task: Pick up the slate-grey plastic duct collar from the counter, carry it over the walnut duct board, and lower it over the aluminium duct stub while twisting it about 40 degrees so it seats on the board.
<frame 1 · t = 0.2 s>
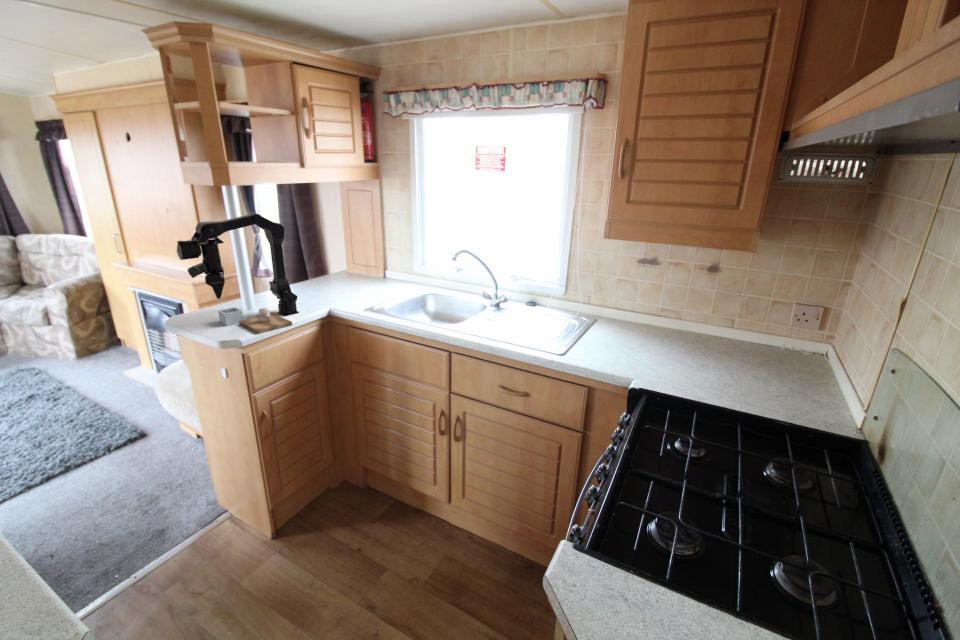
hand: (218, 295, 177), 13 cm above the counter, fingers open, 9 cm apart
duct board: (266, 324, 185), on the counter
duct collar: (231, 322, 187), on the counter
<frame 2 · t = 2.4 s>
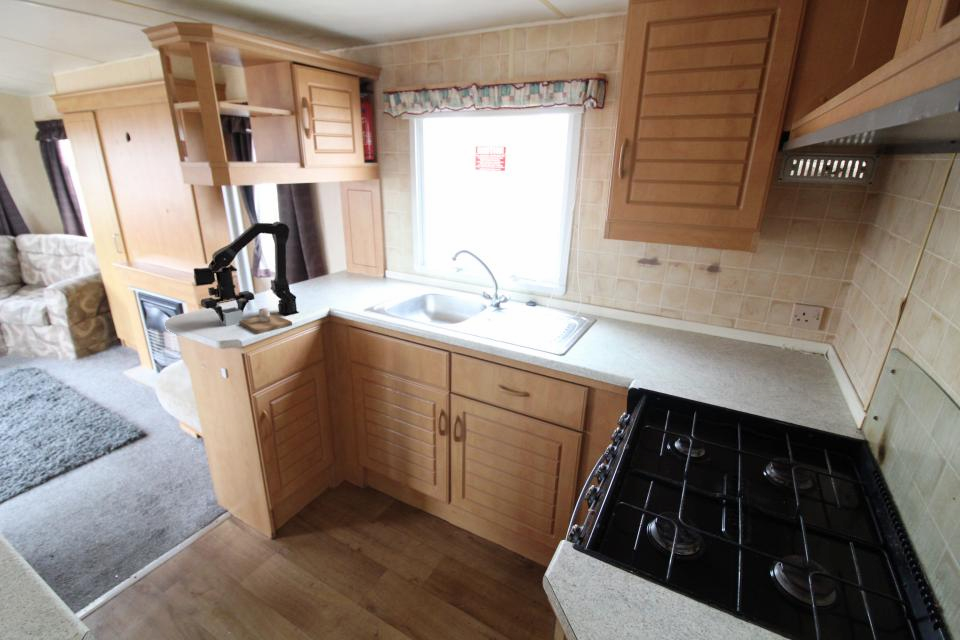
hand: (231, 319, 187), 1 cm above the counter, fingers closed on duct collar, 7 cm apart
duct collar: (231, 322, 187), on the counter, touching gripper
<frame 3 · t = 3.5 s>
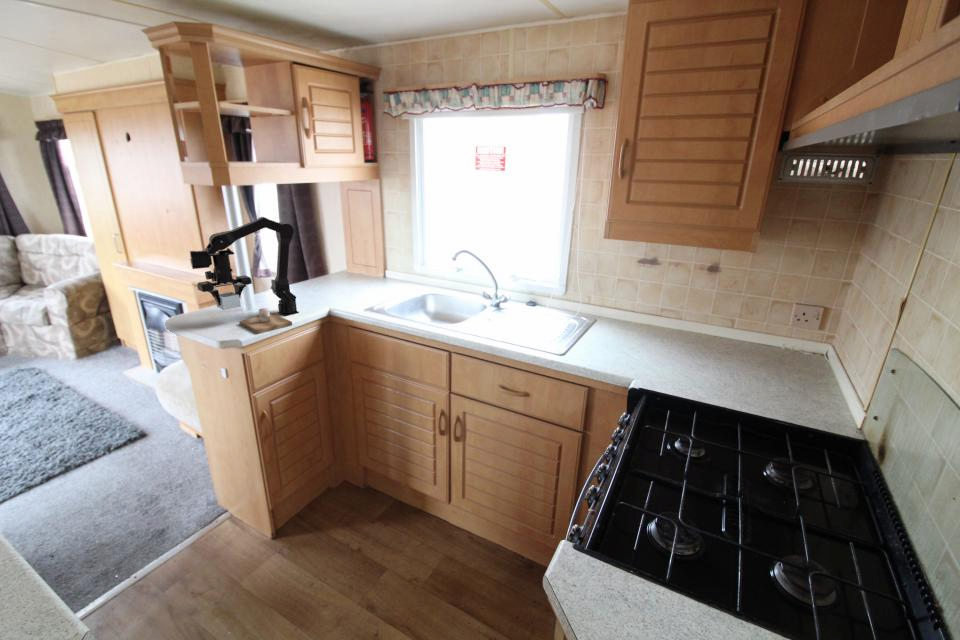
hand: (228, 303, 184), 8 cm above the counter, fingers closed on duct collar, 7 cm apart
duct collar: (229, 306, 185), point 7 cm above the counter, touching gripper
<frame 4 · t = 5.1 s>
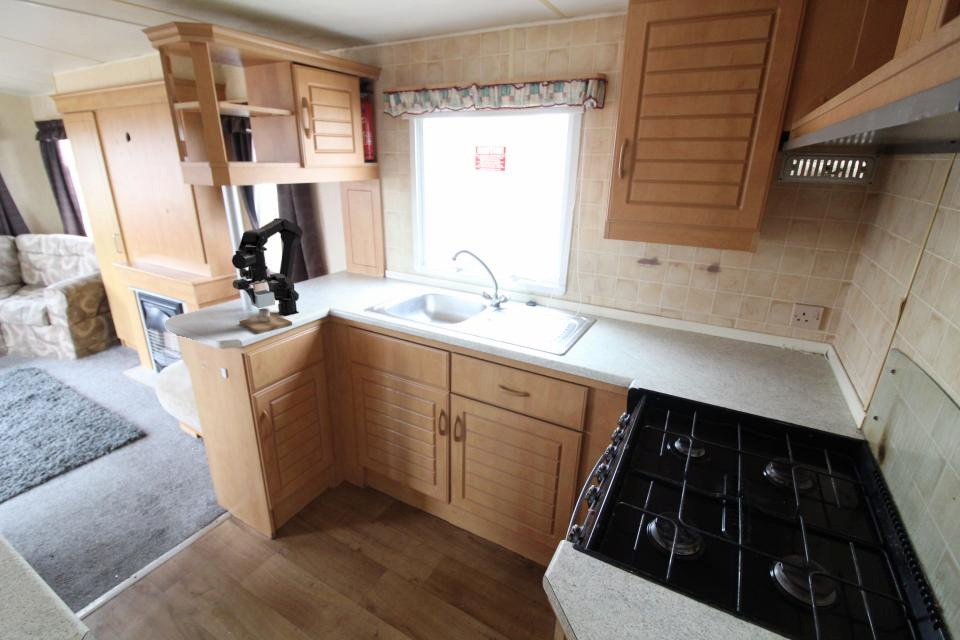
hand: (262, 301, 182), 10 cm above the counter, fingers closed on duct collar, 7 cm apart
duct collar: (263, 304, 182), point 9 cm above the counter, touching gripper
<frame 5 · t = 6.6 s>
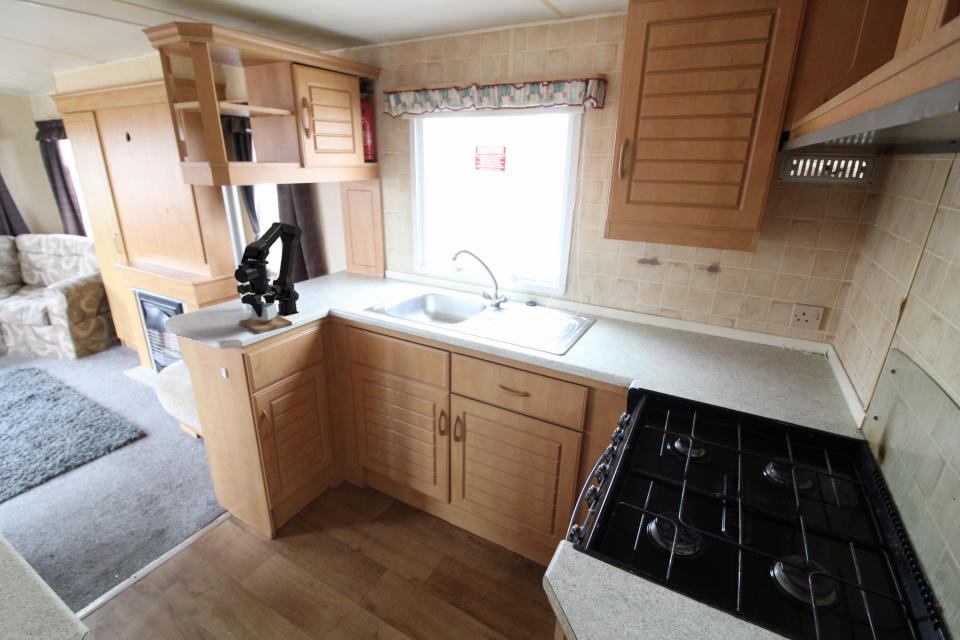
hand: (264, 314, 184), 4 cm above the counter, fingers closed on duct collar, 7 cm apart
duct collar: (265, 317, 184), point 3 cm above the counter, touching gripper
when the fingers open (3 cm above the counter, at t = 7.8 s): duct collar stays where it is, resting on duct board.
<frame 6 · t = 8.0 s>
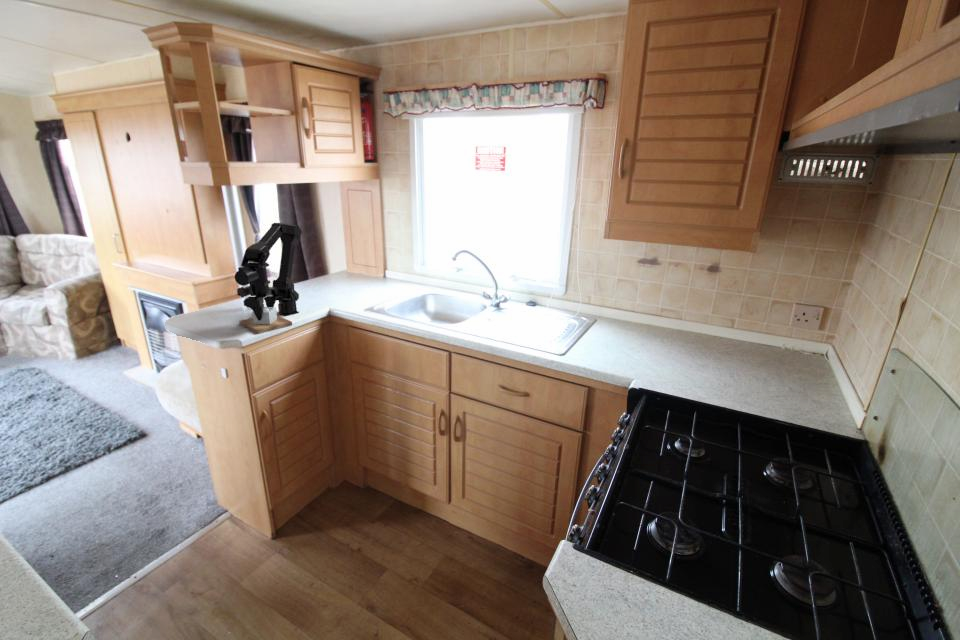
hand: (264, 316, 184), 3 cm above the counter, fingers open, 9 cm apart
duct collar: (265, 321, 185), point 1 cm above the counter, touching duct board
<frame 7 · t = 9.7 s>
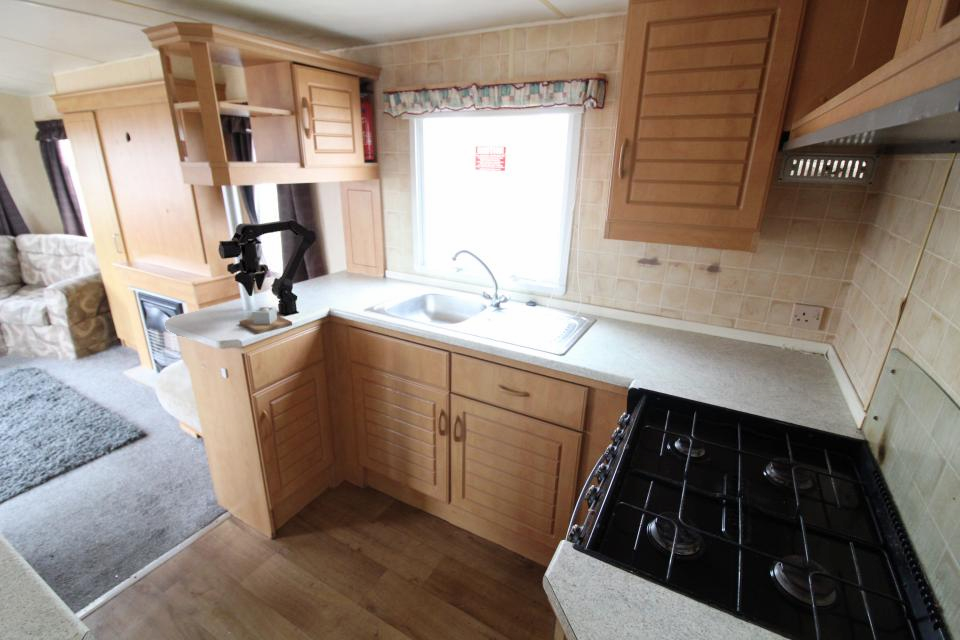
hand: (255, 292, 187), 12 cm above the counter, fingers open, 9 cm apart
nothing on the counter moved.
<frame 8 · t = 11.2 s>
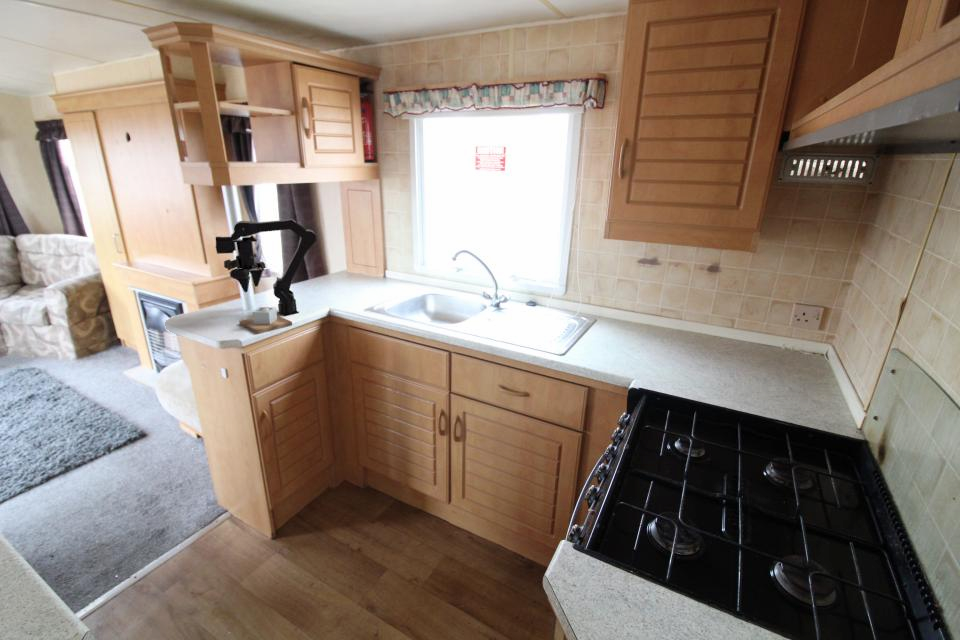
hand: (251, 289, 191), 12 cm above the counter, fingers open, 9 cm apart
nothing on the counter moved.
at the end: duct collar 0.0 cm off-centre on the duct board, point 1.5 cm above the duct board's base; duct collar tilted 0°; the gripper is holding nothing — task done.
